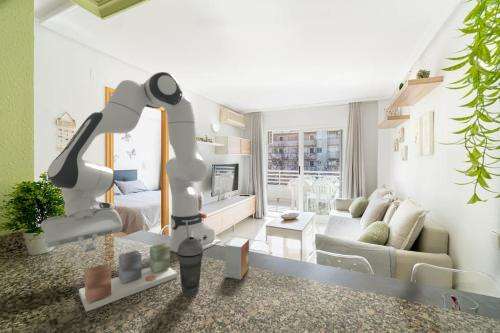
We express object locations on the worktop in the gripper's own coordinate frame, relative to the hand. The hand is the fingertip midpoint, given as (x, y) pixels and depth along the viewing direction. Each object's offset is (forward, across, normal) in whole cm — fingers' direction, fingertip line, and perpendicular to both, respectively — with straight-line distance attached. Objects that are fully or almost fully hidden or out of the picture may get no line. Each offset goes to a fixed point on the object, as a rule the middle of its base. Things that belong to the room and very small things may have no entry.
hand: (90, 250), depth 70 cm
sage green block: (+12, +17, -1) cm, 21 cm away
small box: (+27, +36, -11) cm, 46 cm away
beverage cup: (+26, +19, -10) cm, 34 cm away
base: (+14, +8, 0) cm, 17 cm away
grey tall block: (+12, +8, -1) cm, 15 cm away
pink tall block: (+15, -1, -4) cm, 15 cm away
